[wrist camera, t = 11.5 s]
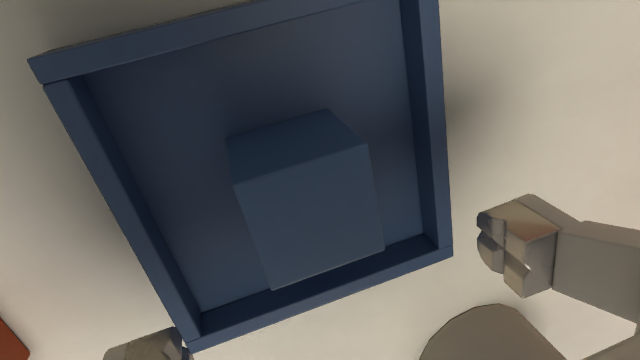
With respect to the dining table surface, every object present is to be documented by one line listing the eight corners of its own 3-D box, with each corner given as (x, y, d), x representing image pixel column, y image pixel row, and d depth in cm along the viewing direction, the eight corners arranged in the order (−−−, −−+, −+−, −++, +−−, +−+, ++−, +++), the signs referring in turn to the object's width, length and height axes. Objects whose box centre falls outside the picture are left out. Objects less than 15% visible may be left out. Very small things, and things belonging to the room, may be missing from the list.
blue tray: (48, 50, 13) (25, 59, 12) (408, -39, 15) (436, -43, 14) (191, 322, 20) (190, 355, 18) (432, 234, 22) (454, 256, 20)
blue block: (223, 138, 16) (232, 185, 12) (328, 107, 17) (368, 142, 13) (255, 227, 18) (270, 292, 14) (346, 196, 19) (385, 250, 15)
